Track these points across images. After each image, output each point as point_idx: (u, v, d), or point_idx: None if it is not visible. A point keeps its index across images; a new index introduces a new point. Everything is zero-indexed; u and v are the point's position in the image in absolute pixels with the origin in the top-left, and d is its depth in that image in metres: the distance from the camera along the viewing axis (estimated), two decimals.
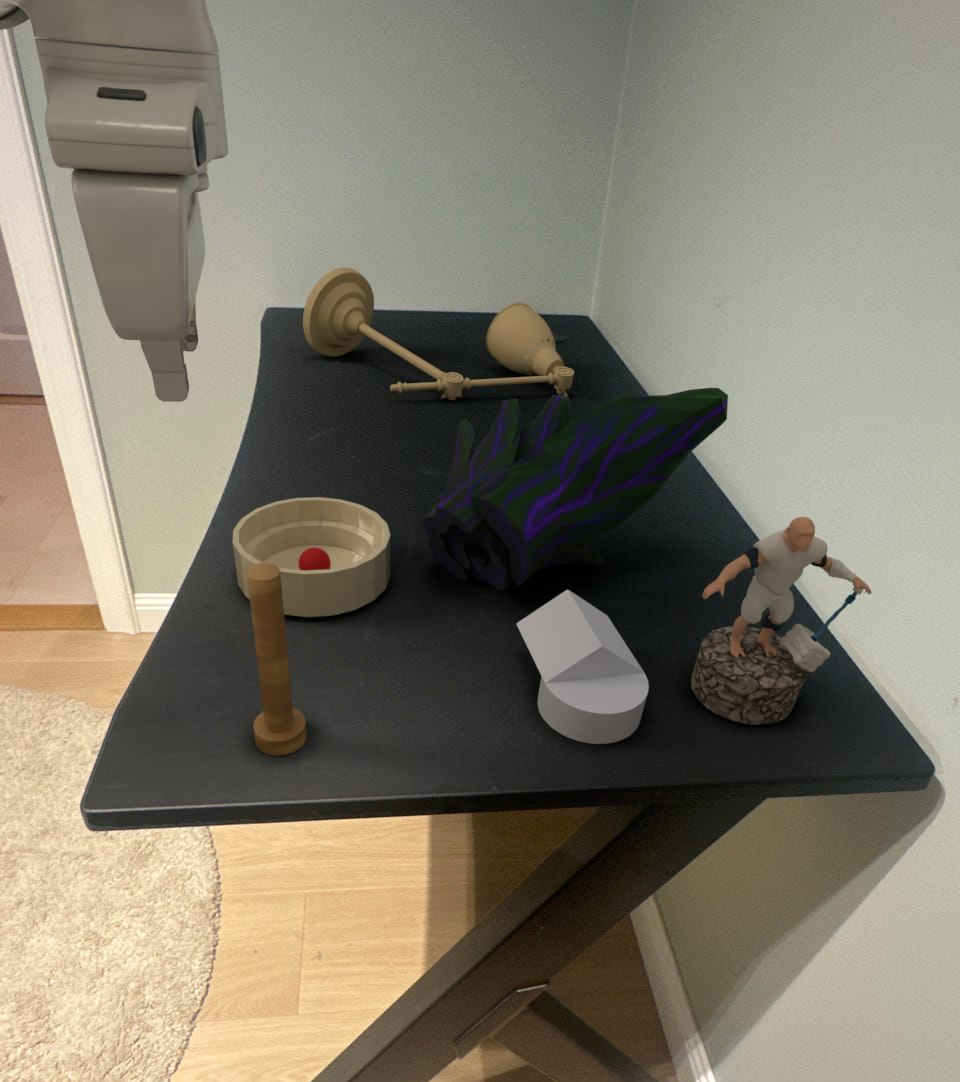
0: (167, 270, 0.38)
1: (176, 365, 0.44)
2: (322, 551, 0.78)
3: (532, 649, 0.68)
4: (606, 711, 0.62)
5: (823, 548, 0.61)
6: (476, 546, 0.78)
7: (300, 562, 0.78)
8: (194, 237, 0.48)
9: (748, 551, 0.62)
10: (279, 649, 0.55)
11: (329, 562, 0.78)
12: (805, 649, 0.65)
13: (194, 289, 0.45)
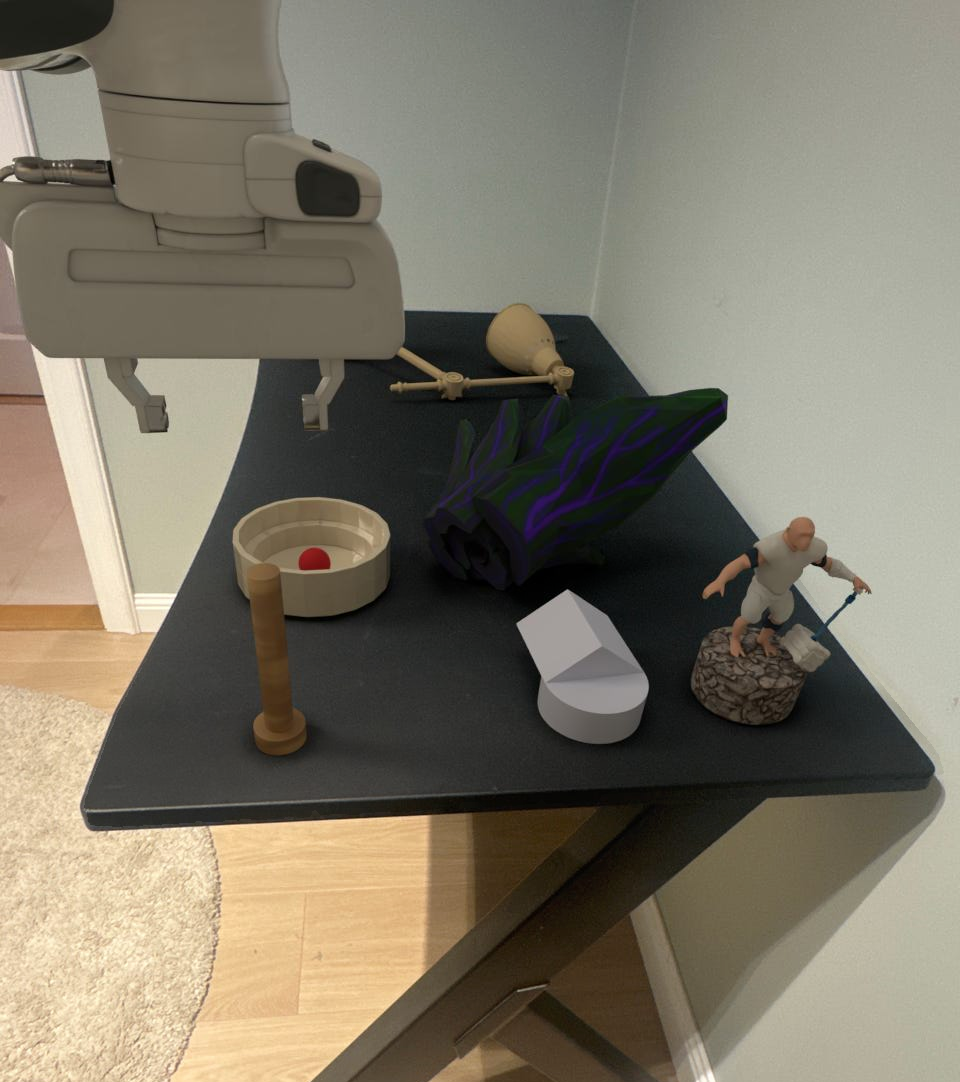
0: None
1: None
2: (322, 551, 0.78)
3: (532, 649, 0.68)
4: (606, 711, 0.62)
5: (823, 548, 0.61)
6: (476, 546, 0.78)
7: (300, 562, 0.78)
8: None
9: (748, 551, 0.62)
10: (279, 649, 0.55)
11: (329, 562, 0.78)
12: (805, 649, 0.65)
13: None
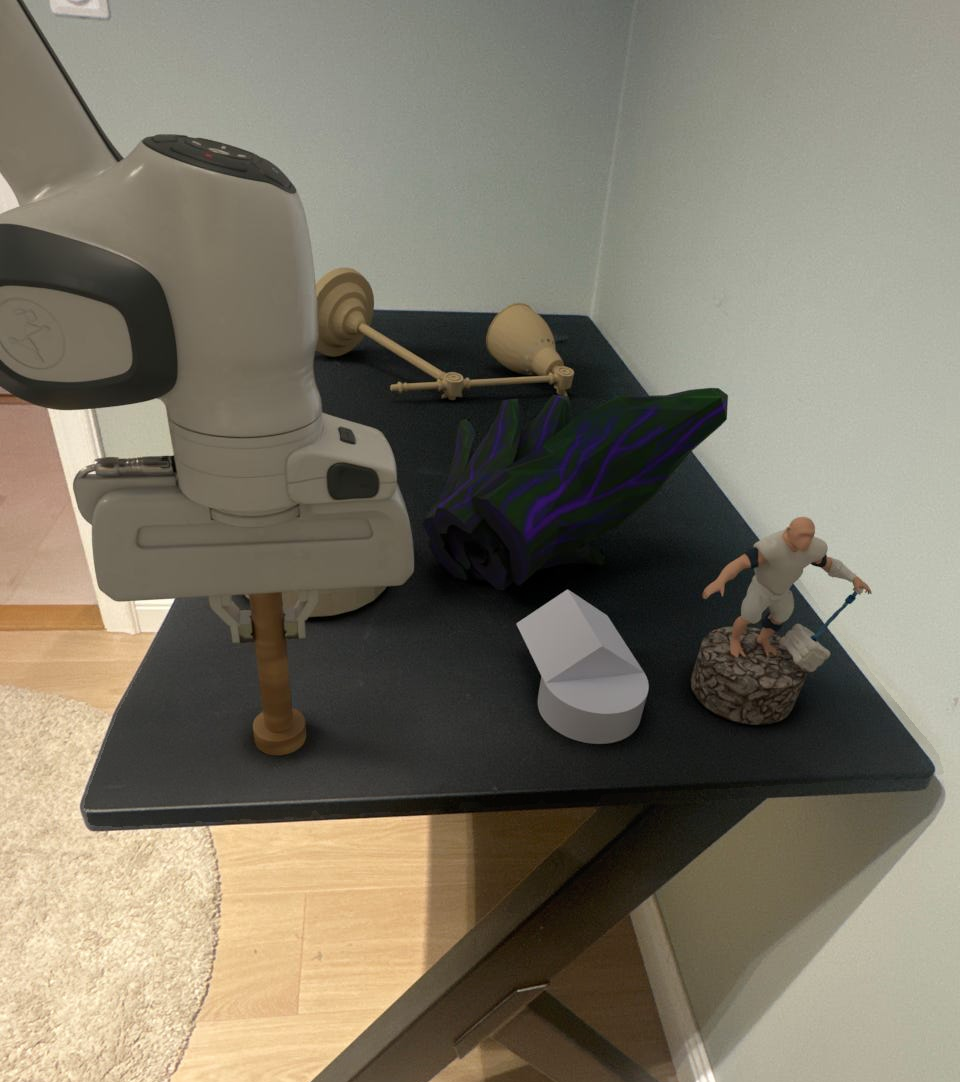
0: None
1: None
2: None
3: (532, 649, 0.68)
4: (606, 711, 0.62)
5: (823, 548, 0.61)
6: (476, 546, 0.78)
7: None
8: None
9: (748, 551, 0.62)
10: (279, 649, 0.55)
11: None
12: (805, 649, 0.65)
13: None
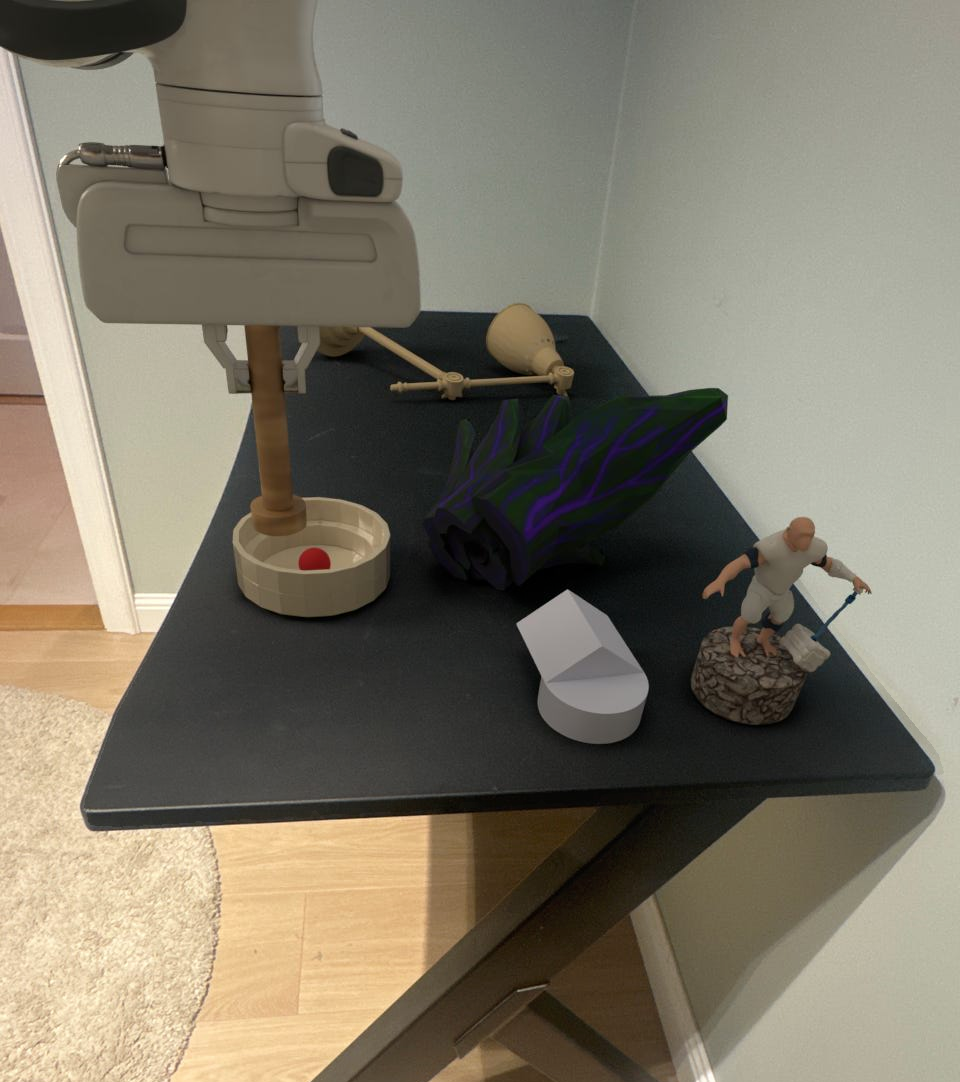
0: None
1: None
2: (322, 551, 0.78)
3: (532, 649, 0.68)
4: (606, 711, 0.62)
5: (823, 548, 0.61)
6: (476, 546, 0.78)
7: (300, 562, 0.78)
8: None
9: (748, 551, 0.62)
10: (277, 404, 0.52)
11: (329, 562, 0.78)
12: (805, 649, 0.65)
13: None
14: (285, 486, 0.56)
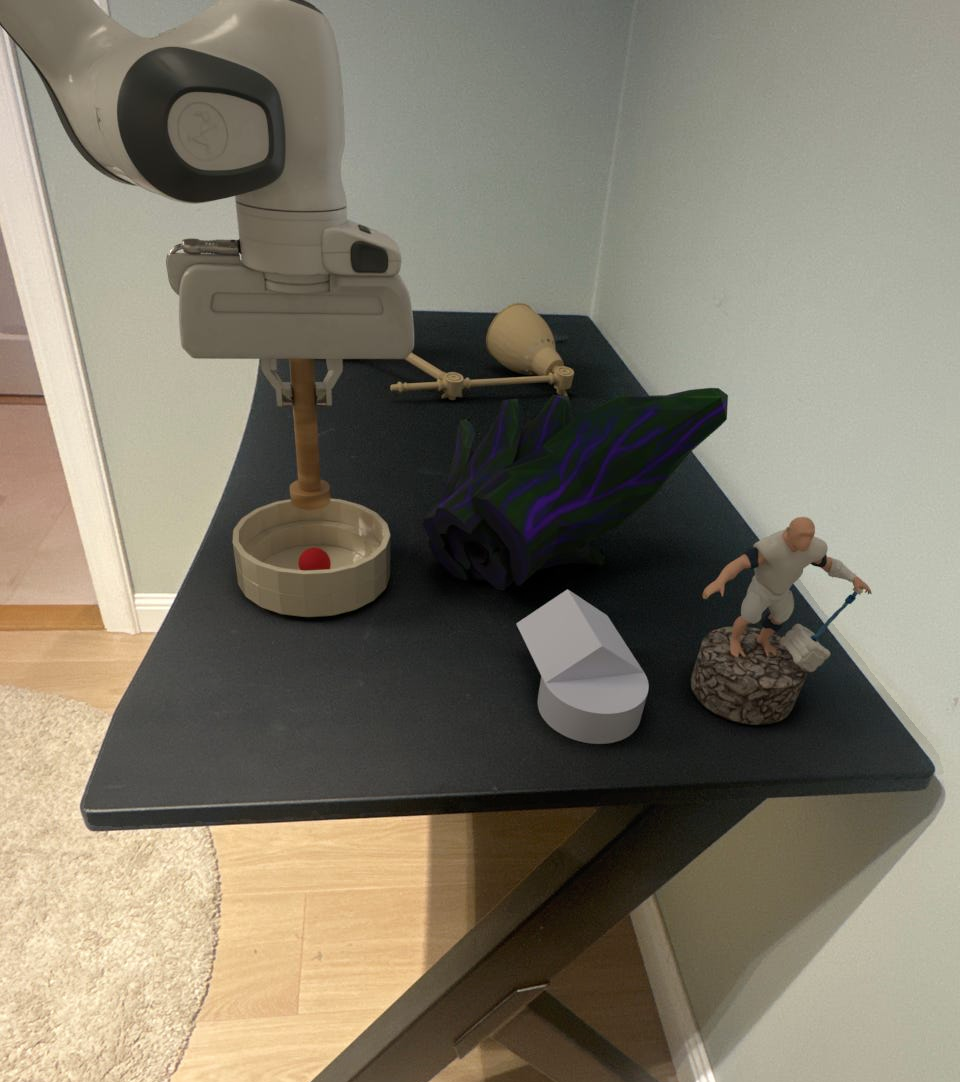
0: None
1: None
2: (322, 551, 0.78)
3: (532, 649, 0.68)
4: (606, 711, 0.62)
5: (823, 548, 0.61)
6: (476, 546, 0.78)
7: (300, 562, 0.78)
8: None
9: (748, 551, 0.62)
10: (311, 413, 0.73)
11: (329, 562, 0.78)
12: (805, 649, 0.65)
13: None
14: (315, 473, 0.76)
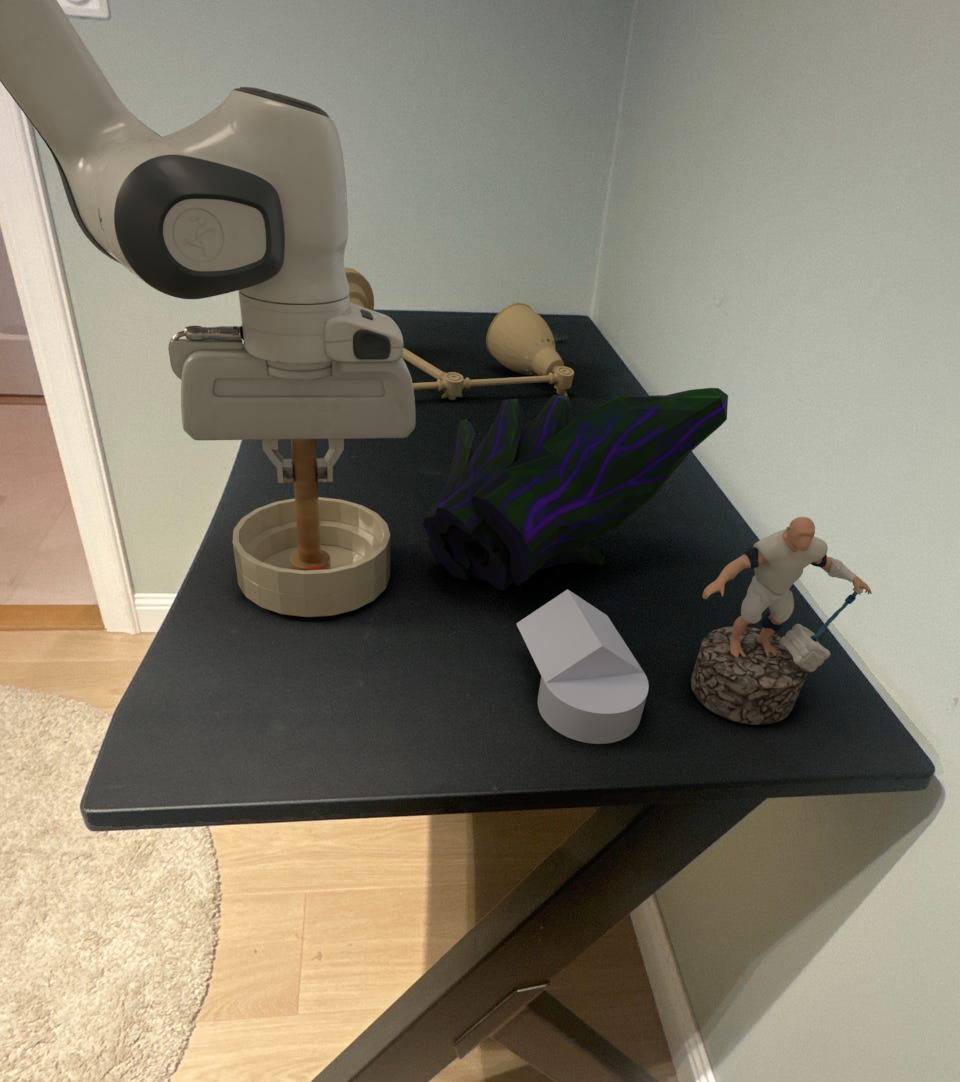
0: None
1: None
2: None
3: (532, 649, 0.68)
4: (606, 711, 0.62)
5: (823, 548, 0.61)
6: (476, 546, 0.78)
7: None
8: None
9: (748, 551, 0.62)
10: (312, 490, 0.73)
11: None
12: (805, 649, 0.65)
13: None
14: (316, 545, 0.77)
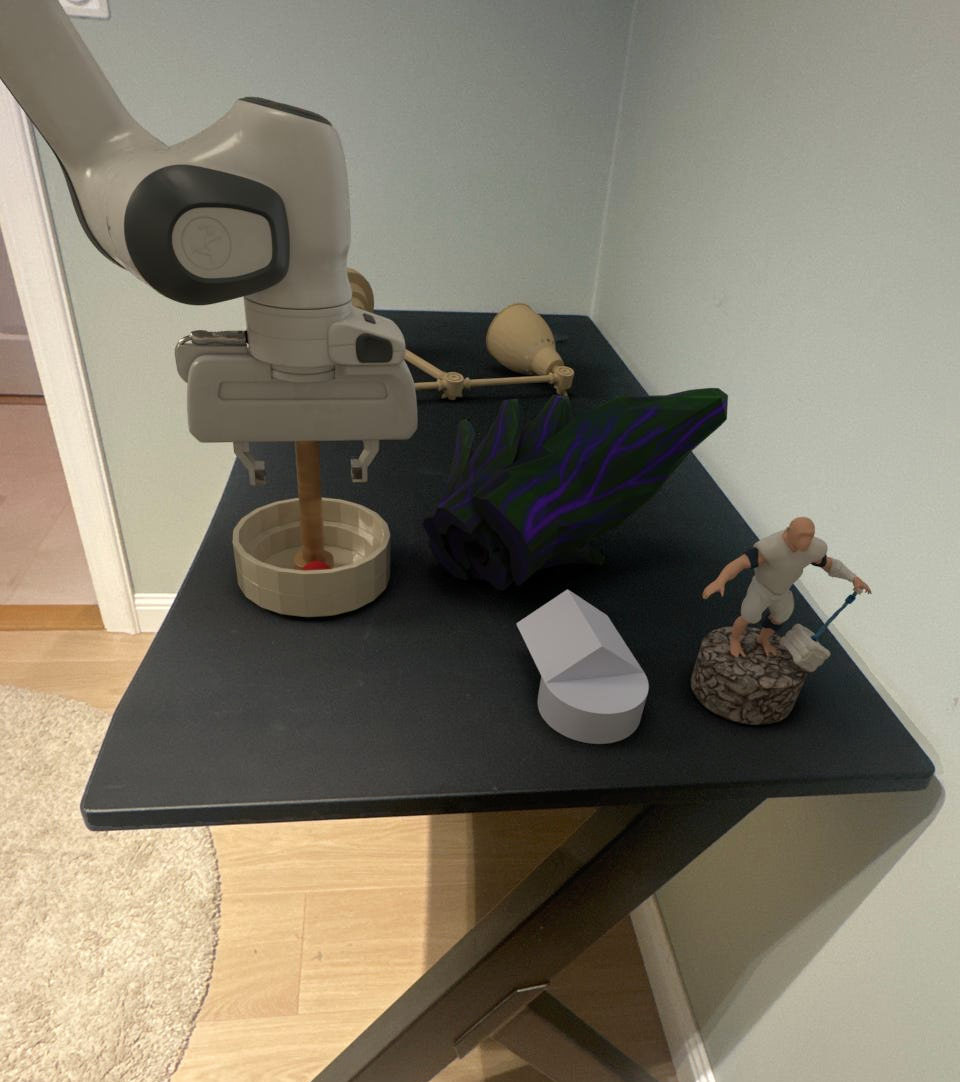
0: None
1: None
2: None
3: (532, 649, 0.68)
4: (606, 711, 0.62)
5: (823, 548, 0.61)
6: (476, 546, 0.78)
7: None
8: None
9: (748, 551, 0.62)
10: (316, 491, 0.74)
11: None
12: (805, 649, 0.65)
13: None
14: (319, 546, 0.78)
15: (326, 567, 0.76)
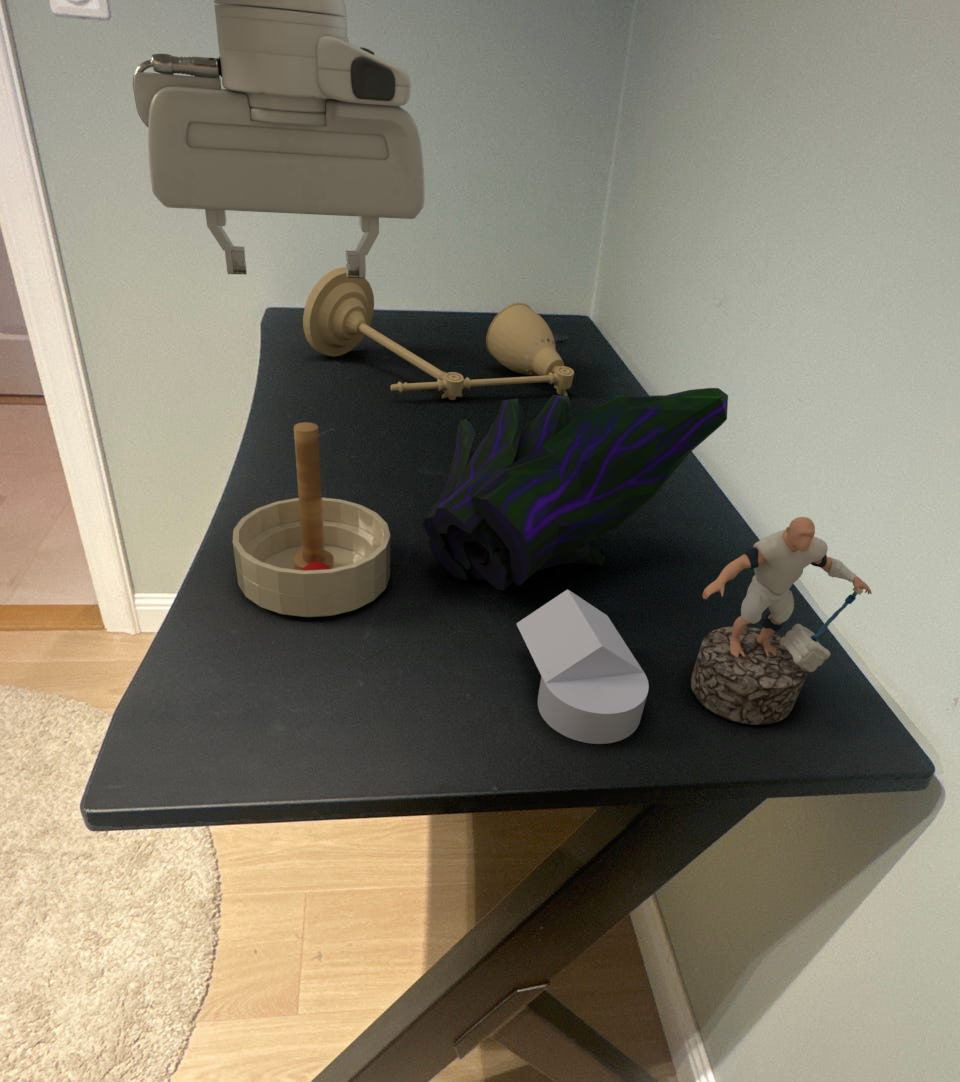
0: None
1: None
2: None
3: (532, 649, 0.68)
4: (606, 711, 0.62)
5: (823, 548, 0.61)
6: (476, 546, 0.78)
7: None
8: None
9: (748, 551, 0.62)
10: (316, 491, 0.74)
11: None
12: (805, 649, 0.65)
13: None
14: (319, 546, 0.78)
15: None
